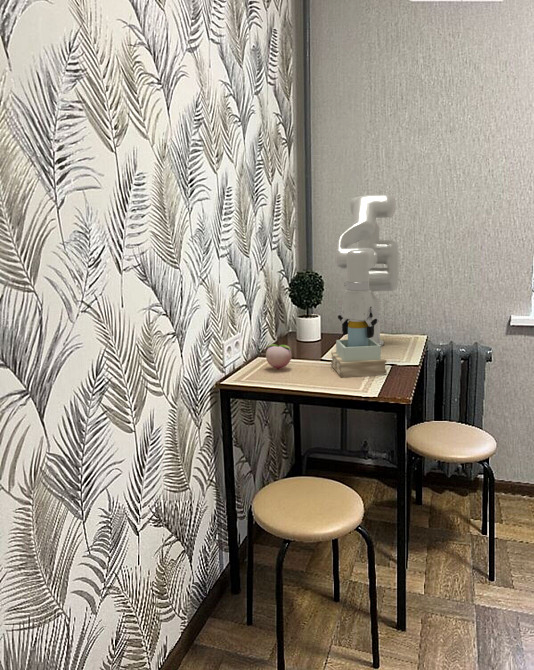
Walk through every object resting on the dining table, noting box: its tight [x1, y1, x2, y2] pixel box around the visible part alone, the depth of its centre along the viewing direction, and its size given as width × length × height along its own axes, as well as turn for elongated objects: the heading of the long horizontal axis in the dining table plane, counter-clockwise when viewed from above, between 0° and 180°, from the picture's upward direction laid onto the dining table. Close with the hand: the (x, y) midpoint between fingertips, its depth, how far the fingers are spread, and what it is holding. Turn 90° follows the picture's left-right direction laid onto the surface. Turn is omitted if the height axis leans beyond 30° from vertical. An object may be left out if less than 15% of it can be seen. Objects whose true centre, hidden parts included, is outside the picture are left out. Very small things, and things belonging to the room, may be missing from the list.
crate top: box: [335, 338, 382, 362], centre depth 214 cm, size 13×13×5 cm
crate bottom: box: [330, 351, 387, 378], centre depth 215 cm, size 16×16×5 cm
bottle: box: [347, 313, 368, 347], centre depth 212 cm, size 7×7×15 cm
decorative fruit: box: [265, 341, 292, 370], centre depth 218 cm, size 9×8×10 cm
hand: (357, 335), depth 213 cm, fingers open, 9 cm apart
